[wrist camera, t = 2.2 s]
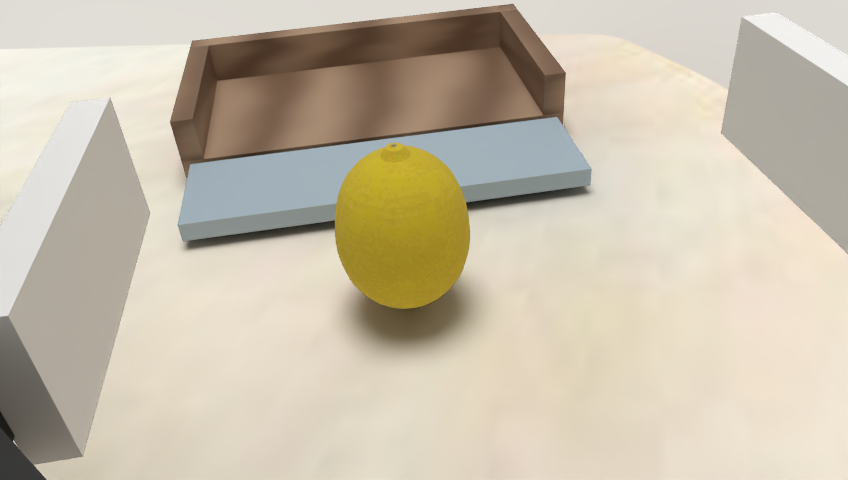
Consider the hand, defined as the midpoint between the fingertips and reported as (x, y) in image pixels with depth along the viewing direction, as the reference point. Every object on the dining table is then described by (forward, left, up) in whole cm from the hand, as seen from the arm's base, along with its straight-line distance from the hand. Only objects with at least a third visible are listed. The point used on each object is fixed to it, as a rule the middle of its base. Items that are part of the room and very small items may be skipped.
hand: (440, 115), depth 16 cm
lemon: (0, +11, -15) cm, 18 cm away
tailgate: (0, +23, -13) cm, 27 cm away
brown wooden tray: (0, +30, -14) cm, 33 cm away
